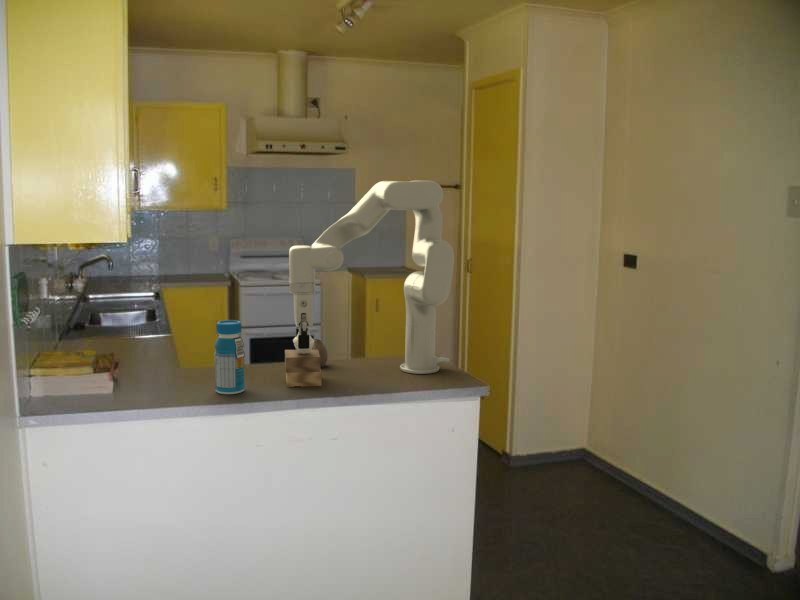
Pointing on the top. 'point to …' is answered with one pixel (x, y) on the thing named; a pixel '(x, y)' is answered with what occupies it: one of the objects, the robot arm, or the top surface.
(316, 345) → the vase
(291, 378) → the tower base
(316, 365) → the tower top
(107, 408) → the top surface
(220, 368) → the beverage bottle
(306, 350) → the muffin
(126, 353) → the top surface
